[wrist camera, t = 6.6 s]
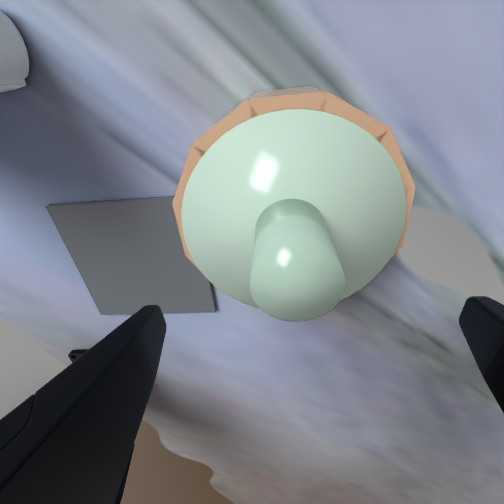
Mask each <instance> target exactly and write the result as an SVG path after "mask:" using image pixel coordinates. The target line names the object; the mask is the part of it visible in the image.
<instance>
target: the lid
mask: <svg viewBox="0 0 504 504" xmlns="http://www.w3.org/2000/svg"><path fill="white" fill-rule="evenodd" d="M405 216H406V196H405V190H404V184H403V181H402V178H401V175H400V172H399V170H398V168H397V166H396V164H395V162H394V161H393V159H392V157H391V156H390V154H389V153H388V152H387V150H386V149H385V148H384V147H383V145H382V144H381V143H380V142H379V141H377V140H376V139H375V138H374V137H373V136H372V135H371V134H370V133H368V132H367V131H365V130H364V129H362V128H361V127H359V126H358V125H356V124H355V123H353V122H351V121H349V120H347V119H345V118H343V117H340V116H338V115H336V114H332V113H329V112H325V111H322V110H315V109H308V108H286V109H280V110H274V111H269V112H266V113H262V114H259V115H256V116H253V117H251V118H249V119H247V120H245V121H243V122H241V123H239V124H237V125H236V126H234V127H233V128H231V129H230V130H228V131H227V132H225V133H224V134H223V135H222V136H221V137H220V138H219V139H217V140H216V141H215V142H214V143H213V144H212V145H211V147H210V148H209V149H208V150H207V151H206V153H205V154H204V155H203V156H202V157H201V159H200V160H199V162H198V163H197V165H196V167H195V168H194V170H193V171H192V174H191V176H190V178H189V181H188V183H187V185H186V189H185V193H184V196H183V202H182V211H181V217H182V229H183V235H184V239H185V242H186V245H187V249H188V251H189V253H190V255H191V257H192V259H193V261H194V262H195V264H196V265H197V267H198V269H199V270H200V271H201V272H202V273H203V275H204V276H205V277H206V278H207V279H208V280H209V281H210V282H211V283H212V284H213V285H214V286H215V287H217V288H218V289H219V290H221V291H222V292H223V293H225V294H227V295H228V296H230V297H232V298H234V299H235V300H238V301H240V302H242V303H244V304H247V305H250V306H253V307H256V308H260V309H261V310H263V311H264V312H265V313H267V314H268V315H270V316H272V317H275V318H278V319H281V320H285V321H306V320H311V319H315V318H317V317H320V316H322V315H324V314H326V313H327V312H329V311H330V310H332V309H333V308H334V307H335V306H336V305H337V304H338V302H339V301H340V300H342V299H344V298H346V297H348V296H350V295H352V294H353V293H355V292H357V291H358V290H360V289H361V288H362V287H364V286H365V285H366V284H368V283H369V282H370V281H371V280H372V279H373V278H374V277H375V276H376V275H377V274H378V273H379V272H380V271H381V270H382V269H383V267H384V266H385V265H386V264H387V262H388V261H389V259H390V258H391V256H392V254H393V253H394V251H395V249H396V247H397V245H398V243H399V240H400V238H401V234H402V231H403V228H404V223H405Z"/></svg>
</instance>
